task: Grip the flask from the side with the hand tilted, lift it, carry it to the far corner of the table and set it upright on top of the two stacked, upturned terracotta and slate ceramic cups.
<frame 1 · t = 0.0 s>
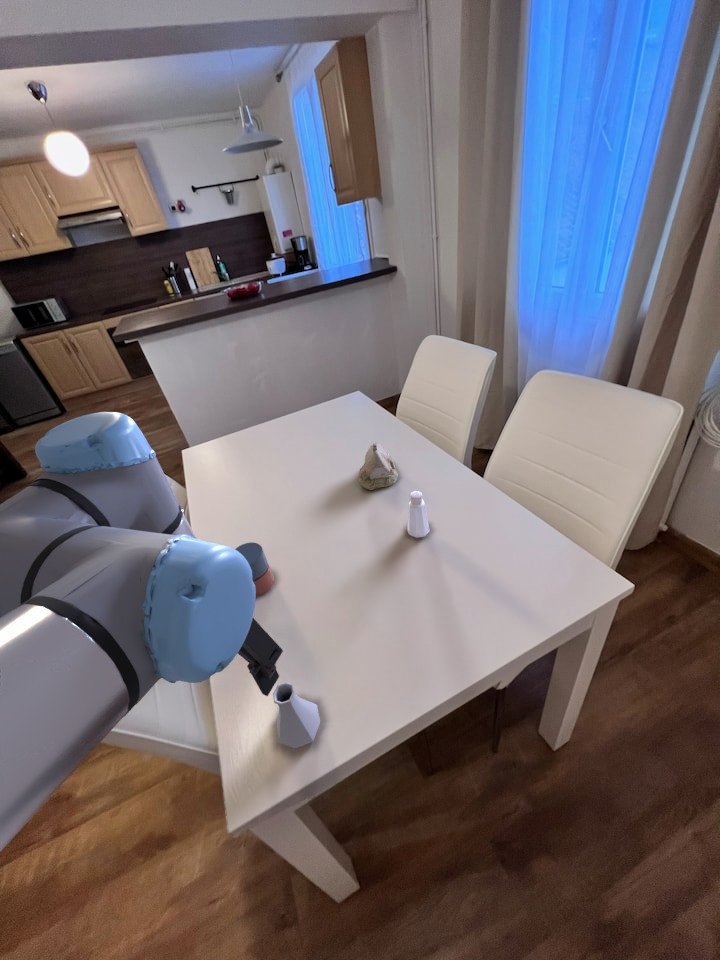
hand: (229, 667, 54), 19 cm above the table, tool pointing down, fingers open, 13 cm apart
ceramic model: (378, 475, 117), on the table
flask: (299, 724, 65), on the table
pepper shaker: (418, 530, 97), on the table
cup stack: (258, 583, 90), on the table
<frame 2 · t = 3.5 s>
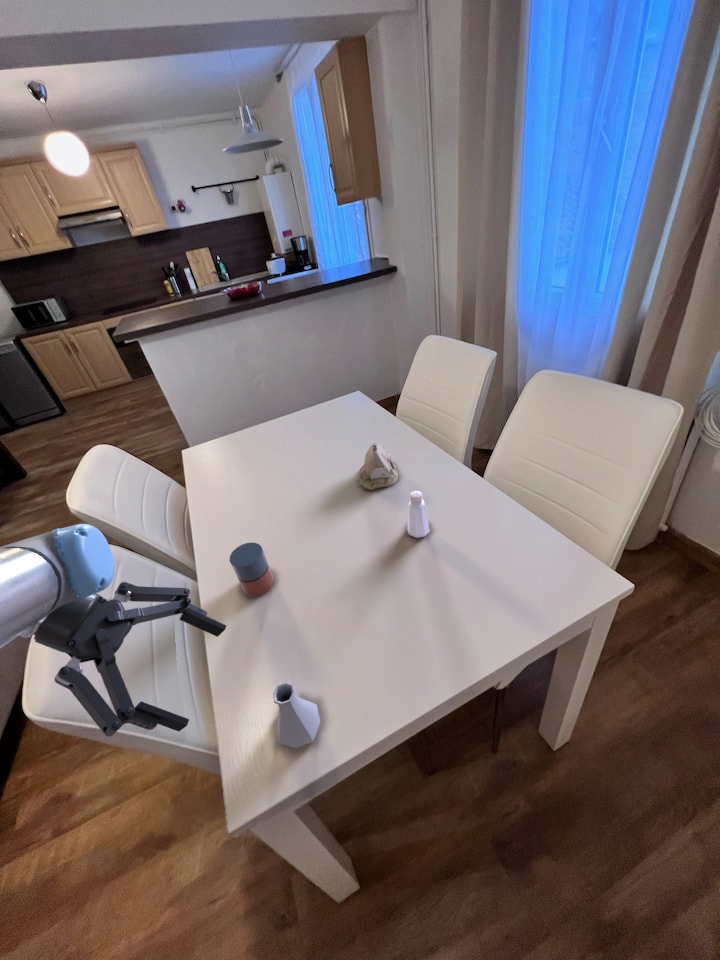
hand: (205, 674, 57), 15 cm above the table, tool tilted 45°, fingers open, 13 cm apart
nothing on the table moved.
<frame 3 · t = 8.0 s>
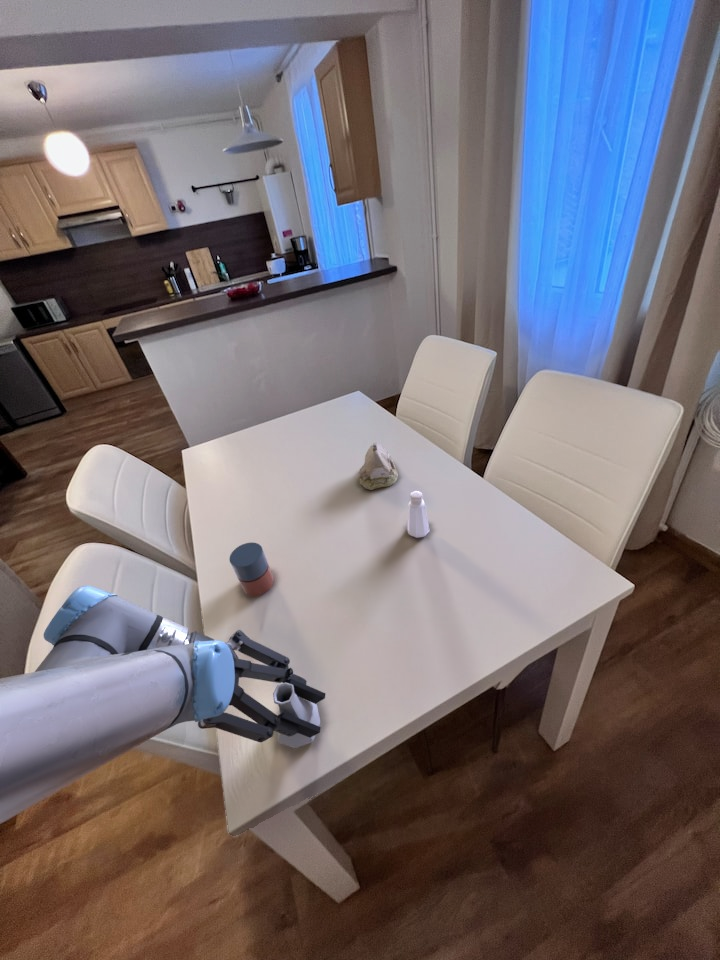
hand: (317, 714, 62), 3 cm above the table, tool tilted 45°, fingers closed on flask, 4 cm apart
flask: (299, 724, 65), on the table, touching gripper
everything else where it was.
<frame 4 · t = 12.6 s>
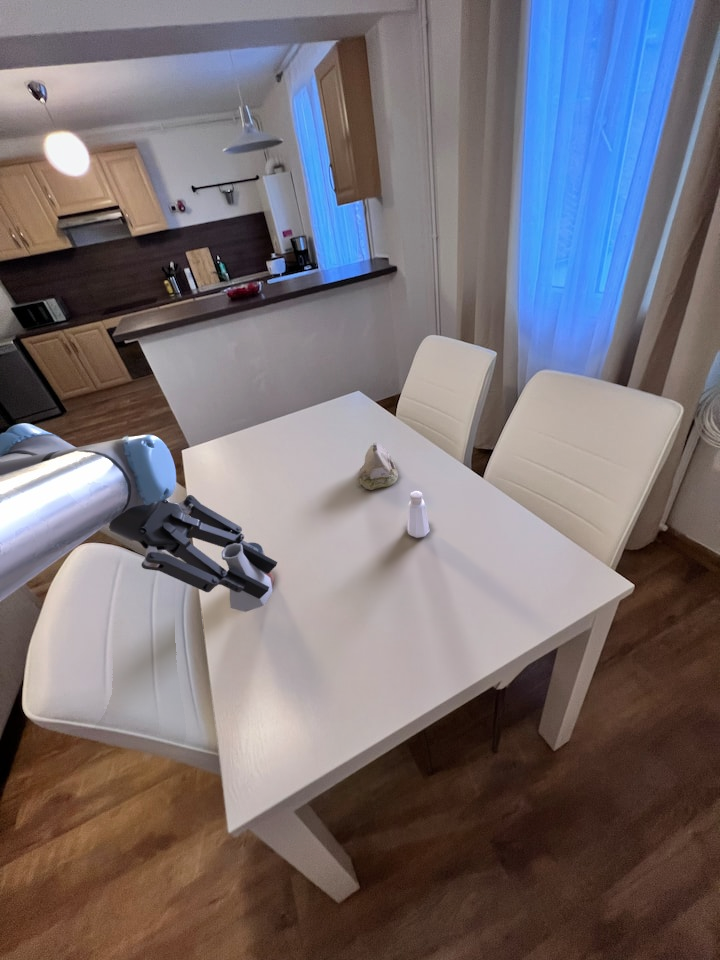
hand: (268, 580, 63), 20 cm above the table, tool tilted 45°, fingers closed on flask, 4 cm apart
flask: (251, 594, 65), point 17 cm above the table, touching gripper
everything else where it was.
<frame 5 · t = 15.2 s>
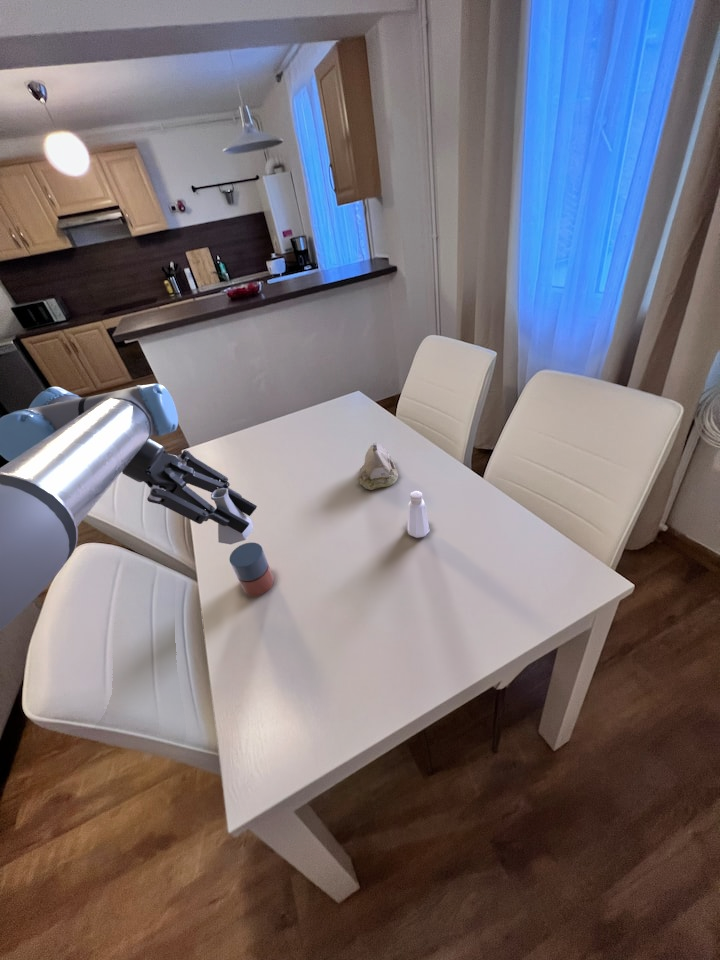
hand: (249, 519, 78), 19 cm above the table, tool tilted 45°, fingers closed on flask, 4 cm apart
flask: (236, 533, 80), point 16 cm above the table, touching gripper
everything else where it was.
when the fingers open (13 cm above the table, at t = 17.3 s): flask stays where it is, resting on cup stack.
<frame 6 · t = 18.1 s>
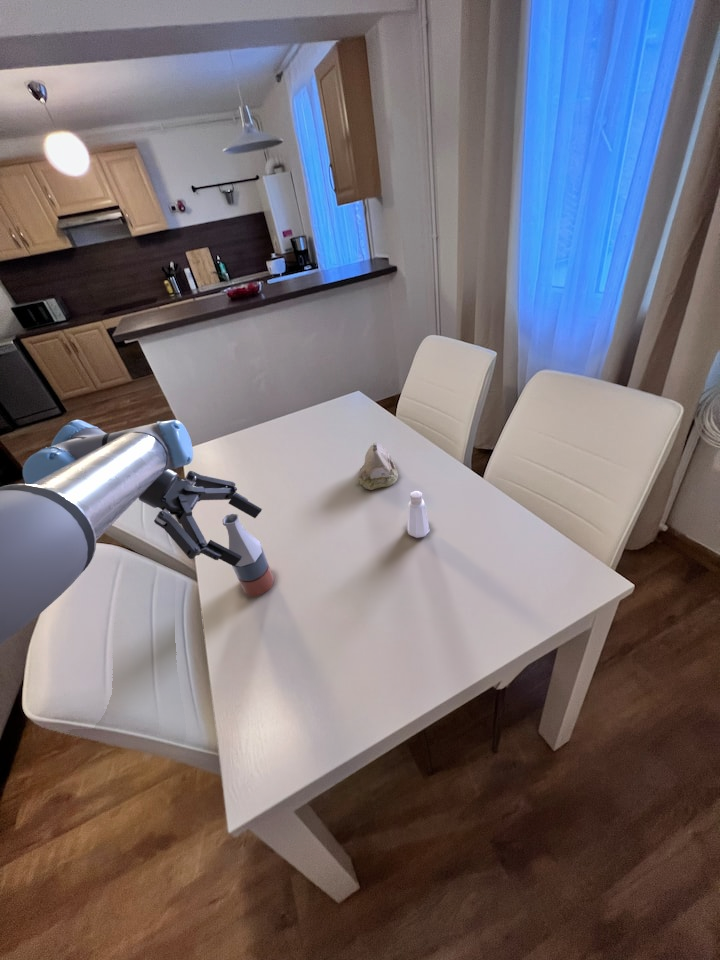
hand: (249, 536, 81), 15 cm above the table, tool tilted 45°, fingers open, 13 cm apart
flask: (246, 555, 84), point 9 cm above the table, touching cup stack
everything else where it was.
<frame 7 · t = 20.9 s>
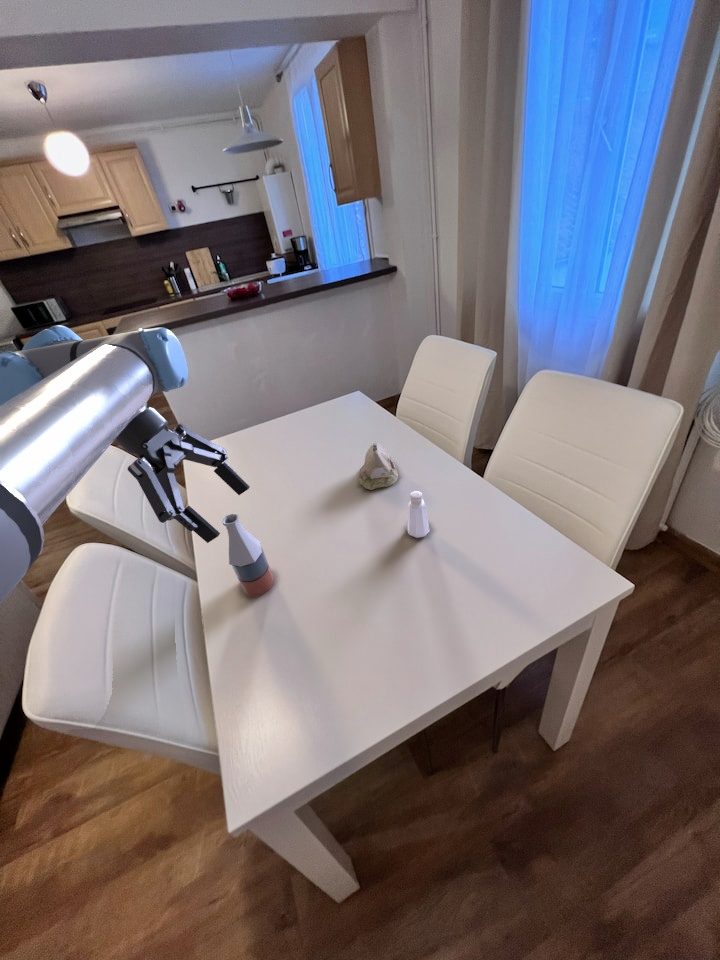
hand: (230, 512, 70), 25 cm above the table, tool tilted 30°, fingers open, 13 cm apart
nothing on the table moved.
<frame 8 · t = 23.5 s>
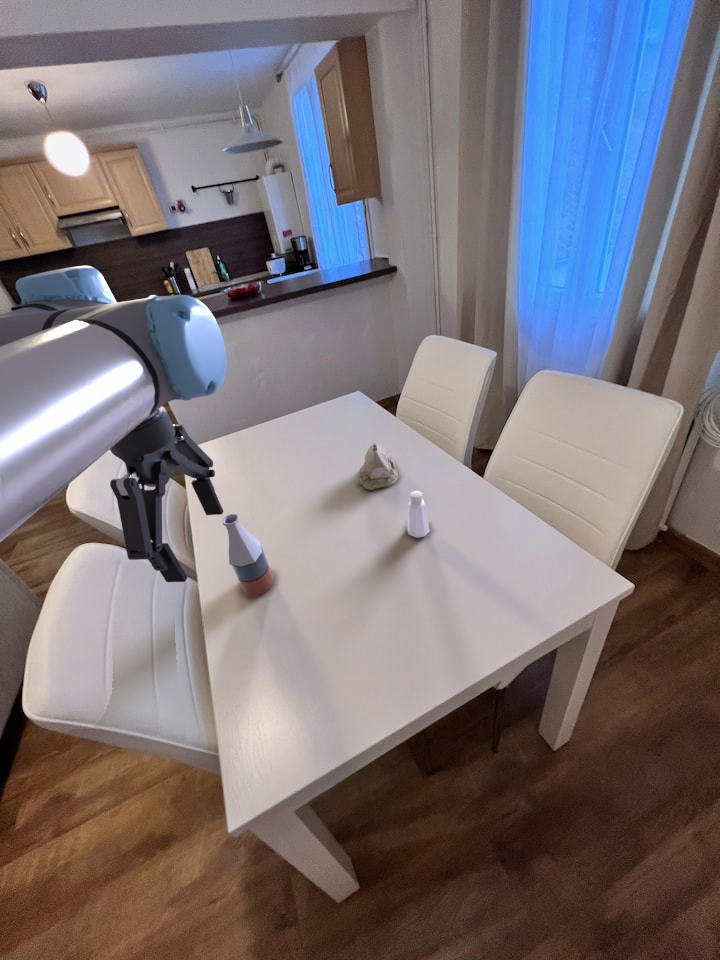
hand: (197, 543, 60), 29 cm above the table, tool pointing down, fingers open, 13 cm apart
nothing on the table moved.
at the end: flask 0.1 cm off-centre on the cup stack, point 9.2 cm above the cup stack's base; flask tilted 0°; the gripper is holding nothing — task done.
